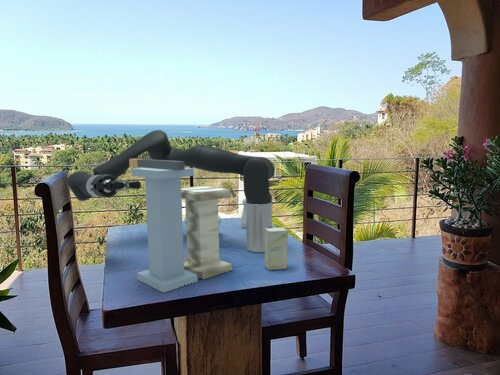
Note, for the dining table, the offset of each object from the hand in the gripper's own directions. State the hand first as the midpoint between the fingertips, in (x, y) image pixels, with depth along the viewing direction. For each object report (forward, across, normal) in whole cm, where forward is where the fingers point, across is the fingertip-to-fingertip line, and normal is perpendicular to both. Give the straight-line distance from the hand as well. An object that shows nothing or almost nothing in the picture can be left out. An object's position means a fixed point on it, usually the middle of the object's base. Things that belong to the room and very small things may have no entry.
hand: (127, 185), depth 118 cm
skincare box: (+31, +32, +27) cm, 52 cm away
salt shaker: (-13, +66, +21) cm, 71 cm away
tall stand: (+15, +3, +27) cm, 31 cm away
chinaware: (-16, +42, +23) cm, 50 cm away
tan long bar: (+13, +1, -5) cm, 14 cm away
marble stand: (+15, +16, +26) cm, 35 cm away
